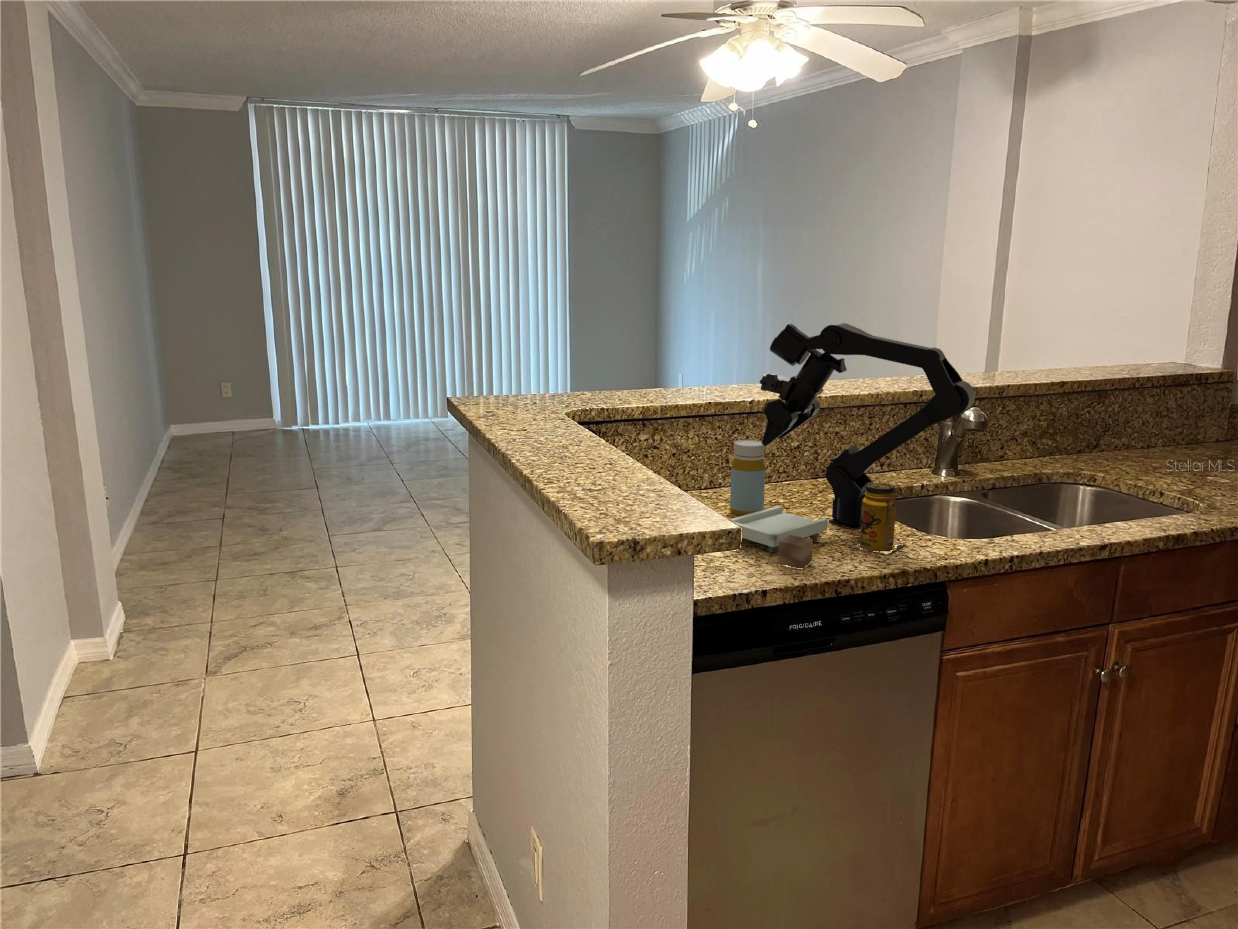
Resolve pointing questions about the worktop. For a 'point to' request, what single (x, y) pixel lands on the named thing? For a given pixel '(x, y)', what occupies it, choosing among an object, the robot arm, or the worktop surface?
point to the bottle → (747, 478)
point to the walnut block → (795, 551)
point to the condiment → (878, 518)
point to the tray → (777, 527)
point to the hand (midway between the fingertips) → (771, 440)
